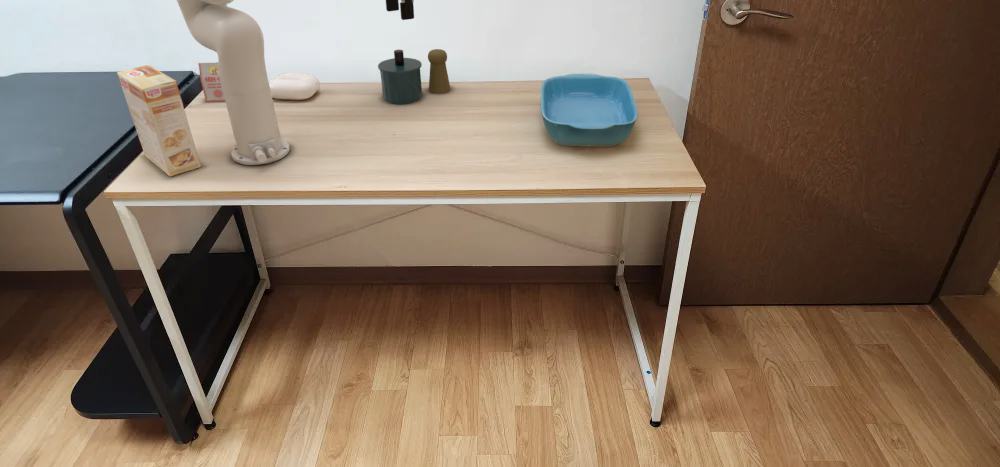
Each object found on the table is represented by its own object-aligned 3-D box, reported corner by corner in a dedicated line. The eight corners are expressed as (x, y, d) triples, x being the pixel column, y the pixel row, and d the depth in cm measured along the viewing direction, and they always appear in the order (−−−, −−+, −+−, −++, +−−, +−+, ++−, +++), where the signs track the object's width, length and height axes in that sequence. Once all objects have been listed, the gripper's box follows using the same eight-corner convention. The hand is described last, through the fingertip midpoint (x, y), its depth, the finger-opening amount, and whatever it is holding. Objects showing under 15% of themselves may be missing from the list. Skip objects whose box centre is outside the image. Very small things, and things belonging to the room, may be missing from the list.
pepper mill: (424, 91, 177) (421, 51, 171) (436, 84, 182) (433, 45, 176) (443, 94, 175) (440, 55, 169) (454, 87, 180) (452, 48, 174)
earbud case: (279, 88, 180) (275, 69, 177) (324, 89, 179) (321, 70, 176) (264, 102, 172) (260, 82, 169) (311, 103, 171) (308, 83, 168)
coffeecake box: (202, 166, 140) (177, 80, 129) (169, 177, 136) (140, 89, 125) (175, 146, 149) (150, 63, 138) (143, 155, 145) (114, 71, 134)
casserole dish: (540, 96, 174) (541, 70, 170) (623, 97, 173) (626, 71, 169) (539, 156, 143) (540, 126, 139) (640, 158, 142) (644, 128, 138)
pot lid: (428, 71, 168) (427, 53, 165) (387, 78, 163) (385, 60, 161) (411, 59, 176) (410, 42, 174) (372, 66, 172) (370, 48, 169)
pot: (428, 99, 172) (426, 68, 168) (391, 107, 168) (388, 75, 163) (413, 87, 180) (410, 57, 175) (377, 94, 176) (374, 64, 171)
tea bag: (210, 96, 175) (200, 60, 170) (235, 96, 176) (226, 60, 170) (206, 102, 172) (196, 65, 167) (232, 101, 173) (223, 64, 167)
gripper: (424, -57, 146) (428, 20, 155) (395, -66, 159) (401, 6, 168) (393, -54, 143) (399, 24, 152) (366, -64, 155) (373, 9, 165)
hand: (400, 14), depth 160 cm, fingers open, 9 cm apart
